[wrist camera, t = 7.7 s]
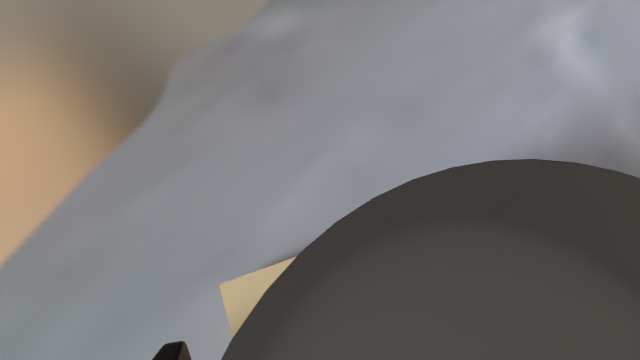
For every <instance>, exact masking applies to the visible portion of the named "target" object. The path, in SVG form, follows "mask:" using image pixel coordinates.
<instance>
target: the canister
mask: <svg viewBox="0 0 640 360" xmlns="http://www.w3.org/2000/svg"><path fill="white" fill-rule="evenodd" d="M221 360H640V178H637V177H634V176H631V175H628V174H624V173H621V172H618V171H613V170H609V169H604V168H599V167H594V166H589V165H584V164H580V163H573V162H561V161H550V160H539V159H524V160H497V161H488V162H482V163H476V164H470V165H464V166H458V167H452V168H449V169H446V170H442V171H439V172H436V173H433V174H430V175H426V176H423V177H420V178H417V179H413V180H411V181H409V182H407V183H405V184H402V185H400V186H398V187H396V188H394V189H392V190H390V191H387V192H385V193H383V194H381V195H379V196H377V197H375V198H373V199H371V200H370V201H368V202H367V203H365V204H363V205H362V206H360V207H359V208H357V209H356V210H354V211H353V212H351V213H350V214H348V215H346V216H345V217H343V218H342V219H340V220H339V221H337V222H336V223H335V224H333V225H332V226H331V227H330V228H329V229H327V230H326V231H325V232H324V233H323V234H322V235H320V236H319V237H318V238H317V239H316V240H315V241H313V242H312V243H311V244H310V245H309V246H308V247H306V248H305V249H304V250H303V251H302V252H301V253H299V255H298V256H297V257H296V258H295V259H294V260H293V261H292V262H291V263H290V265H289V266H288V267H287V268H286V269H285V270H284V271H283V272H282V273H281V275H280V276H279V277H278V278H277V279H276V280H275V281H274V282H273V283H272V285H271V286H270V287H269V288H268V289H267V290H266V291H265V293H264V294H263V295H262V297H261V298H260V300H259V301H258V303H257V304H256V305H255V307H254V308H253V310H252V311H251V313H250V314H249V315H248V317H247V318H246V320H245V321H244V323H243V324H242V325H241V327H240V328H239V330H238V331H237V333H236V334H235V335H234V337H233V339H232V341H231V342H230V344H229V346H228V348H227V350H226V352H225V354H224V355H223V357H222V359H221Z"/></svg>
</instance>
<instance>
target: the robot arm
mask: <svg viewBox="0 0 640 360" xmlns="http://www.w3.org/2000/svg"><path fill="white" fill-rule="evenodd" d="M152 360H191V357H190V354H189V351H188V348H187V345H186V343H185V342H184V341H179V342H172V343H167V344H165V345H164V346H163V347H162V348H161V349H160V350H159V352H158V353H157V354H156V355H155V357H154V358H153V359H152Z"/></svg>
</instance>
